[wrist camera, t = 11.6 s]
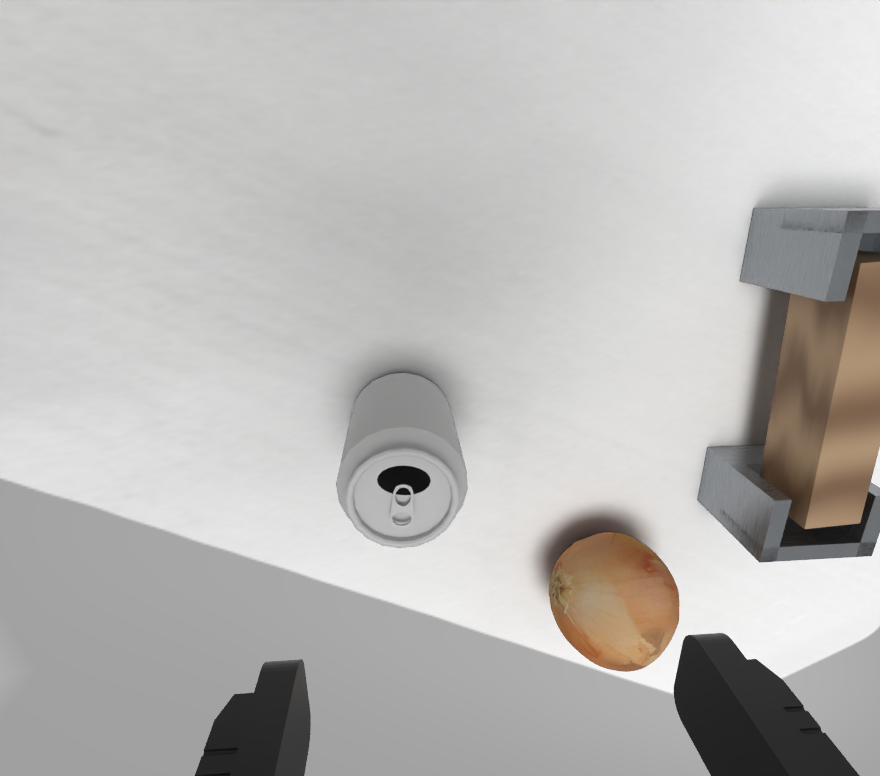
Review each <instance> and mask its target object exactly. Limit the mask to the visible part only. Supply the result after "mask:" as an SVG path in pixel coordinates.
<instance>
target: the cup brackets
mask: <svg viewBox="0 0 880 776" xmlns="http://www.w3.org/2000/svg"><path fill="white" fill-rule="evenodd" d="M858 250H861V251H870V252H879V253H880V208H754V210H753V215H752V220H751V225H750V230H749V235H748V241H747V246H746V251H745V256H744V261H743V267H742V272H741V277H740V281H741V282H745V283H749V284H753V285H757V286H762V287H766V288H770V289H774V290H778V291H783V292H787V293H791V294H795V295H799V296H804V297H808V298H812V299H816V300H820V301H825V302H831V301H845V298H846V294H847V290H848V287H849V283H850V279H851V275H852V272H853V268H854V264H855V260H856V257H857V253H858ZM764 448H765V445H750V446H725V447H708V449H707V454H706V459H705V464H704V469H703V475H702V480H701V485H700V490H699V495H698V501H699V502H700V503H701V504H702V505H703V506H704V507H705V508H706V509H707V510H708V511H709V512H710V513H711V514H712V515H713V516H714V517H715V518H716V519H717V520H718V521H719V522H720V523H721V524H722V525H723V526H724V527H725V528H726V529H727V530H728V531H729V532H730V533H731V534H732V535H733V536H734V537H735V538H736V539H737V540H738V541H739V542H740V543H741V544H742V545H743V546H744V547H745V548H746V549H747V550H748V551H749V552H750V553H751V554H752V555H753V556H754V557H755V558H756V559H757V560H758V561H759V562H773V561H791V560H808V559H826V558H843V557H861V556H872V553H873V550H874V547H875V544H876V542H877V539H878V536H879V533H880V488H879V487H878V486H876V485H874V484H873V483H871V482H870V486H869V490H868V494H867V498H866V502H865V506H864V510H863V514H862V518H861V522H860V523H858V524H849V525H839V526H830V527H821V528H811V529H804V528H802V527H801V526H800V525H799V524H798V523H796V522H795V521H794V520H793V519H791V518H790V517H789V516H788V513H789V509H790V505H791V502H792V500H791V499H790V498H789V497H787V496H786V495H785V494H783V493H782V492H781V491H779V490H778V489H777V488H775V487H774V486H773V485H772V484H770V483H769V482H768V481H766V480H765V479H764V478H762V477H761V476H760V472H761V466H762V460H763V454H764Z"/></svg>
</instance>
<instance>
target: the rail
mask: <svg viewBox="0 0 880 776" xmlns="http://www.w3.org/2000/svg"><path fill="white" fill-rule="evenodd" d="M879 447H880V253H879V252H870V251H861V250H858V253H857V257H856V260H855V264H854V268H853V272H852V275H851V279H850V283H849V287H848V290H847V294H846V298H845V301H831V302H825V301H820V300H816V299H812V298H808V297H804V296H799V295H795V294H790V300H789V306H788V312H787V317H786V323H785V329H784V335H783V341H782V347H781V353H780V359H779V365H778V371H777V377H776V383H775V389H774V395H773V401H772V407H771V412H770V418H769V424H768V430H767V436H766V442H765V448H764V454H763V460H762V466H761V472H760V476H761V477H762V478H764V479H765V480H766V481H768V482H769V483H770V484H772V485H773V486H774V487H775V488H777V489H778V490H779V491H781V492H782V493H783V494H785V495H786V496H787V497H789V498H790V499H791V500H792V502H791V505H790V509H789V513H788V516H789V517H790V518H791V519H793V520H794V521H795V522H796V523H798V524H799V525H800V526H801V527H802V528H804V529H811V528H821V527H830V526H839V525H849V524H858V523H860V522H861V518H862V514H863V510H864V506H865V502H866V498H867V494H868V490H869V486H870V482H871V478H872V474H873V470H874V467H875V463H876V459H877V455H878V451H879Z"/></svg>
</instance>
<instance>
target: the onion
mask: <svg viewBox="0 0 880 776" xmlns="http://www.w3.org/2000/svg"><path fill="white" fill-rule="evenodd" d="M549 597H550V604H551V609H552V612H553V615H554V618H555V620H556V623H557V625H558V627H559V629H560V630H561V632H562V634H563V635H564V637H565V638H566V639H567V640H568V641H569V643H570V644H571V645H572V646H573V647H574V648H575V649H576V650H578V651H579V652H580V653H581V654H582V655H583V656H585V657H586V658H587V659H589V660H590V661H592V662H593V663H595V664H597V665H599V666H601V667H604V668H607V669H611V670H617V671H635V670H639V669H642V668H644V667H646V666H648V665H649V664H651V663H652V662H653V661H655V660H656V659H657V658H658V657H659V656H660V655H661V654H662V652H663V651H664V650H665V648H666V647H667V645H668V644H669V642H670V640H671V639H672V637H673V635H674V632H675V630H676V628H677V625H678V621H679V593H678V589H677V586H676V584H675V581H674V578H673V577H672V575H671V573H670V571H669V570H668V568H667V566H666V565H665V564H664V563H663V561H662V560H661V559H660V558H659V557H658V556H657V555H656V553H655V552H653V551H652V550H651V549H650V548H649V547H647V546H646V545H645V544H643V543H642V542H640V541H638V540H636V539H634V538H633V537H631V536H628V535H625V534H622V533H614V532H604V533H598V534H594V535H592V536H589V537H586V538H584V539H581V540H578V541H576V542H574V543H573V544H572V545H571V546H570V547H569V548H568V549H567V550H566V551H565V552H564V553H563V554H562V555H561V556H560V558H559V559H558V560H557V562H556V564H555V566H554V568H553V572H552V575H551V580H550V587H549Z"/></svg>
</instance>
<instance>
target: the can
mask: <svg viewBox="0 0 880 776" xmlns="http://www.w3.org/2000/svg"><path fill="white" fill-rule="evenodd" d="M336 485H337V492H338V498H339V503H340V504H341V506H342V508H343V510H344V511H345V513H346V515H347V517H348V518H349V519H350V520H351V521H352V523H353V524H354V526H355V528H356V529H357V530H359V531H360V532H361V533H362V534H363V535H364V536H365V537H366V538H368V539H370V540H372V541H374V542H377V543H379V544H381V545H384V546H390V547H397V548H404V547H413V546H418V545H421V544H424V543H426V542H429V541H431V540H433V539H435V538H436V537H437V536H439V535H440V534H441V533H443V532H444V531H445V530H446V529H447V528H448V526H449V525H450V524H451V522H452V521H453V519H454V518H455V516H456V514H457V513H458V511H459V510H460V509H461V507H462V506H463V502H464V499H465V496H466V492H467V489H468V488H467V472H466V467H465V463H464V459H463V455H462V451H461V447H460V443H459V439H458V435H457V431H456V427H455V423H454V419H453V415H452V411H451V408H450V406H449V403H448V401H447V399H446V396H445V395H444V393H443V392H442V391H441V390H440V389H439V388H438V387H437V386H436V385H435V384H434V383H432V382H431V381H429V380H427V379H425V378H423V377H422V376H418V375H413V374H409V373H396V374H388V375H385V376H383V377H381V378H378V379H376V380H374V381H372V382H371V383H370V384H369V385H368V386H366V387H365V388H364V389H363V390H362V391H361V392H360V394H359V396H358V397H357V399H356V401H355V402H354V405H353V409H352V414H351V418H350V423H349V427H348V432H347V437H346V441H345V446H344V450H343V455H342V459H341V464H340V469H339V473H338V478H337V483H336Z"/></svg>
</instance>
